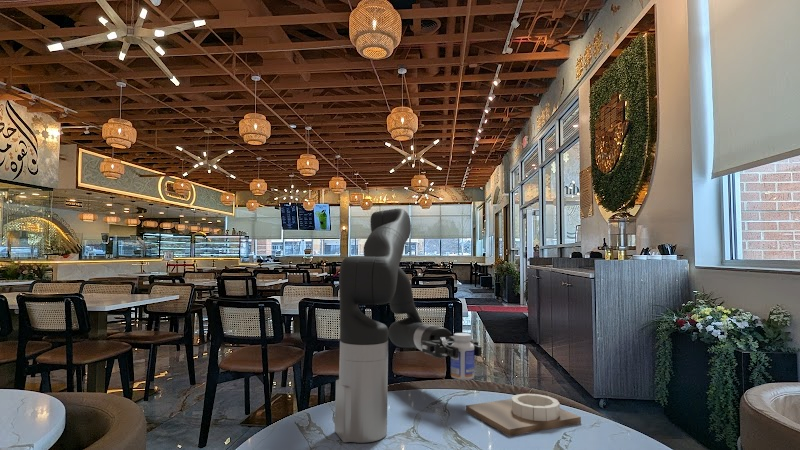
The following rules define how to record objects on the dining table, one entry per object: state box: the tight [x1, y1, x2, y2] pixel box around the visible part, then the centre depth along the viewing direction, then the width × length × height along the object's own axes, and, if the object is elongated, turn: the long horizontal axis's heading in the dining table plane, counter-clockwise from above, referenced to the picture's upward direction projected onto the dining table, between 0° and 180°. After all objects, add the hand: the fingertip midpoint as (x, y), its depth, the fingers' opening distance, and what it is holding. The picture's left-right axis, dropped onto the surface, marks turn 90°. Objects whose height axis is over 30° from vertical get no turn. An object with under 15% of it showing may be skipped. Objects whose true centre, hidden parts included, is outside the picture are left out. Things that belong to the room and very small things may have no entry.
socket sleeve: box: [510, 393, 561, 421], centre depth 93 cm, size 9×9×2 cm
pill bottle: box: [450, 332, 475, 381], centre depth 103 cm, size 5×5×10 cm
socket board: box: [465, 398, 582, 437], centre depth 94 cm, size 18×15×1 cm
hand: (468, 352), depth 101 cm, fingers closed on pill bottle, 5 cm apart
